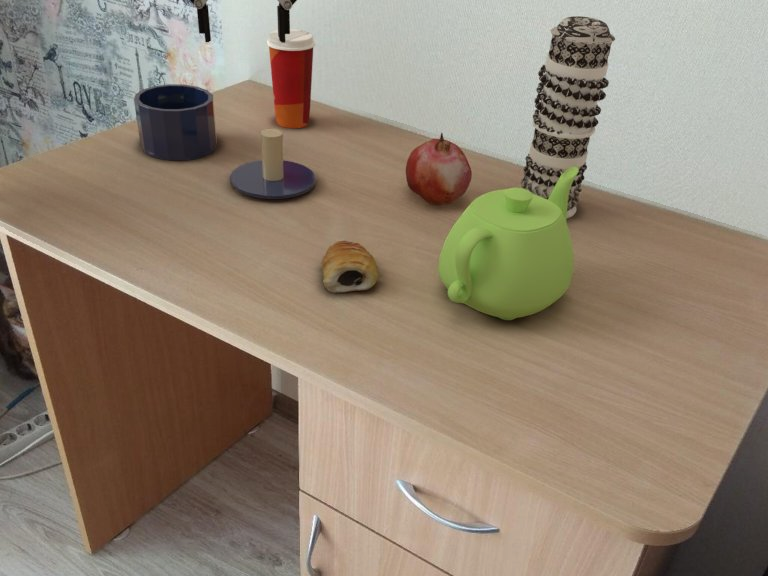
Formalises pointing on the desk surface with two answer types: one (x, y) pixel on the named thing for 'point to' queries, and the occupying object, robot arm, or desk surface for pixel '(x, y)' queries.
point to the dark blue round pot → (176, 121)
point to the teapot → (510, 251)
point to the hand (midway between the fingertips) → (245, 39)
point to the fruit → (438, 171)
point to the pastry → (348, 268)
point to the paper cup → (291, 77)
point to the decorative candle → (567, 105)
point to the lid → (272, 172)
